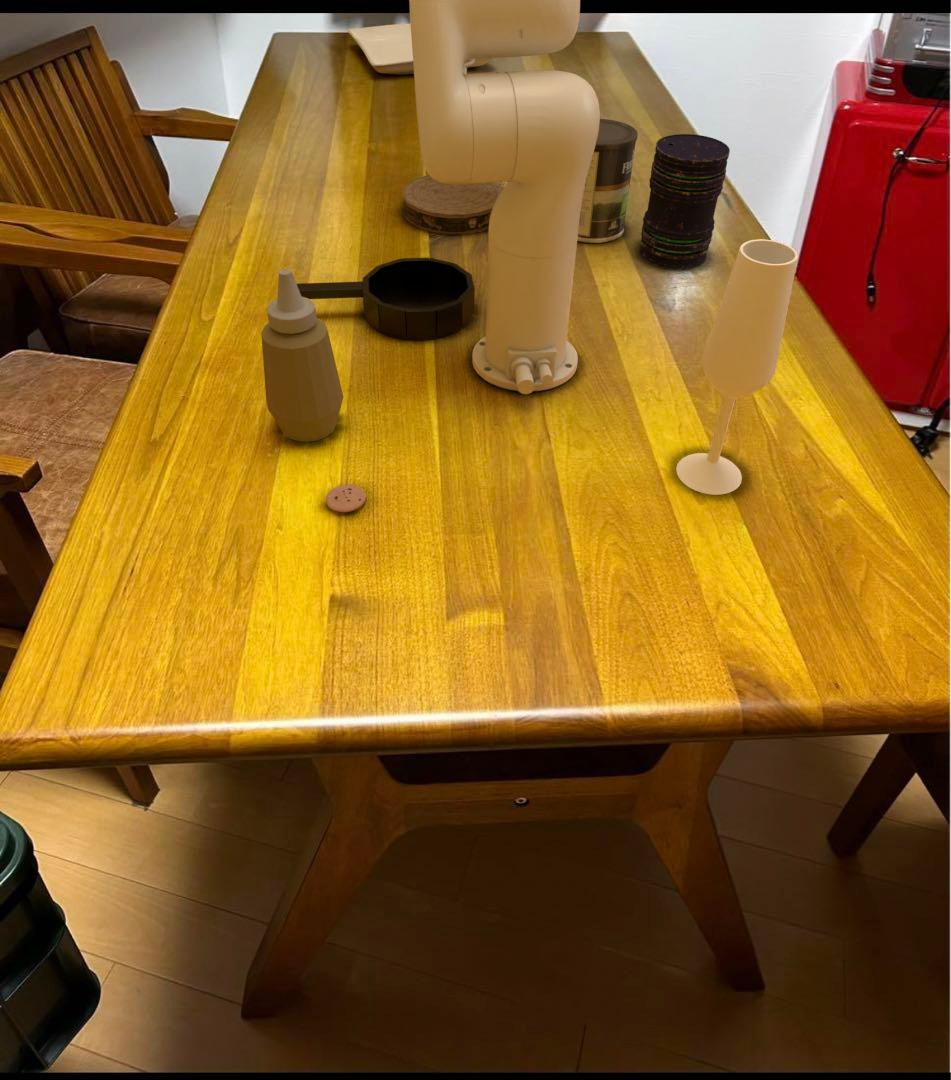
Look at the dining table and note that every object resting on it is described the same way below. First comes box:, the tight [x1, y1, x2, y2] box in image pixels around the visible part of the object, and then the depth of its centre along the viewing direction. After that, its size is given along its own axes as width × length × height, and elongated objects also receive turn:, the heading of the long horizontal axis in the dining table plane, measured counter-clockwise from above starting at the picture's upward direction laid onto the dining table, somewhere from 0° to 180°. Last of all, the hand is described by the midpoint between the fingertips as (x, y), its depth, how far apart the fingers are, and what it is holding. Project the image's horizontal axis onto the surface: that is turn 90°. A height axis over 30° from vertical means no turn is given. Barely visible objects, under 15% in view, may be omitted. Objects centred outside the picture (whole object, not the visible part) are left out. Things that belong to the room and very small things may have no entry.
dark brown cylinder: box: [638, 133, 731, 271], centre depth 117 cm, size 10×10×15 cm
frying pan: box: [296, 257, 475, 341], centre depth 108 cm, size 14×24×4 cm, turn 96°
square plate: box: [347, 22, 494, 76], centre depth 187 cm, size 27×27×4 cm
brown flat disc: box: [402, 174, 505, 235], centre depth 130 cm, size 16×16×3 cm
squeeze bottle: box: [260, 268, 344, 443], centre depth 85 cm, size 8×8×18 cm
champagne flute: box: [675, 238, 799, 496], centre depth 79 cm, size 7×7×24 cm
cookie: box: [325, 483, 367, 513], centre depth 83 cm, size 4×4×1 cm
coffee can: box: [577, 118, 639, 244], centre depth 123 cm, size 10×10×14 cm
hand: (449, 175), depth 137 cm, fingers closed
